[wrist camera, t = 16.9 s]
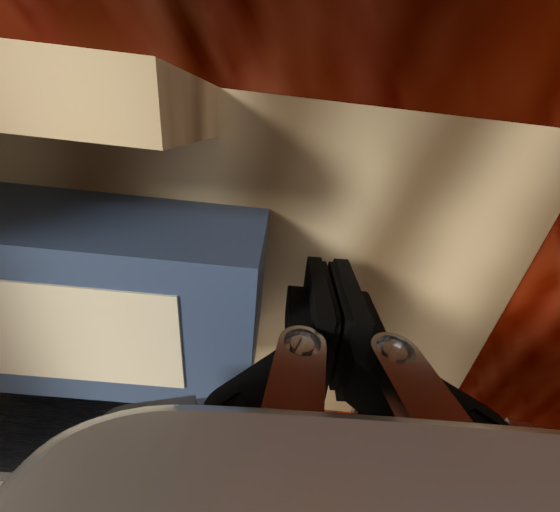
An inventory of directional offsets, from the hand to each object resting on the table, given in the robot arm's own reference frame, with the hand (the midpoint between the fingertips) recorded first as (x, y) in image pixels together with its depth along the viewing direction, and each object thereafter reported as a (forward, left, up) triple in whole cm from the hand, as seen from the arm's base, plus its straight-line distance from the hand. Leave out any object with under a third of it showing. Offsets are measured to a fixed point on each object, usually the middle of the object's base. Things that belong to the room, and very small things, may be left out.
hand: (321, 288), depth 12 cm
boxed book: (+9, 0, -1) cm, 9 cm away
